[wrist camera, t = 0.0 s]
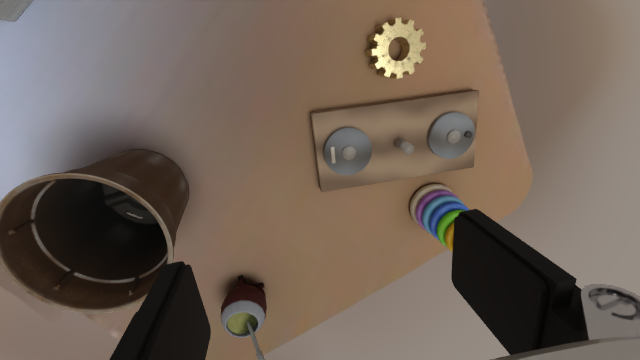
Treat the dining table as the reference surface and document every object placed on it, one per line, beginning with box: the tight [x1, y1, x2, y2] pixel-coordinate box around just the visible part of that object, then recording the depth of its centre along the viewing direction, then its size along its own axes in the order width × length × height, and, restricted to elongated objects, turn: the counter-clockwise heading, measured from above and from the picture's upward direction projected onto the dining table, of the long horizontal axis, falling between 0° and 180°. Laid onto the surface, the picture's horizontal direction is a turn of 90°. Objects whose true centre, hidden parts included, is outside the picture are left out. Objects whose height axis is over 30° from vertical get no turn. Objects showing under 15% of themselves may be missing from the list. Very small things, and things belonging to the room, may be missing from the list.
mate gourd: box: [221, 275, 267, 360], centre depth 48 cm, size 8×8×15 cm
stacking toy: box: [410, 184, 469, 252], centre depth 45 cm, size 8×8×19 cm
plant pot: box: [0, 150, 189, 314], centre depth 38 cm, size 16×16×16 cm
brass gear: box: [366, 18, 426, 79], centre depth 43 cm, size 7×7×3 cm
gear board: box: [310, 90, 479, 192], centre depth 46 cm, size 12×25×6 cm, turn 97°
